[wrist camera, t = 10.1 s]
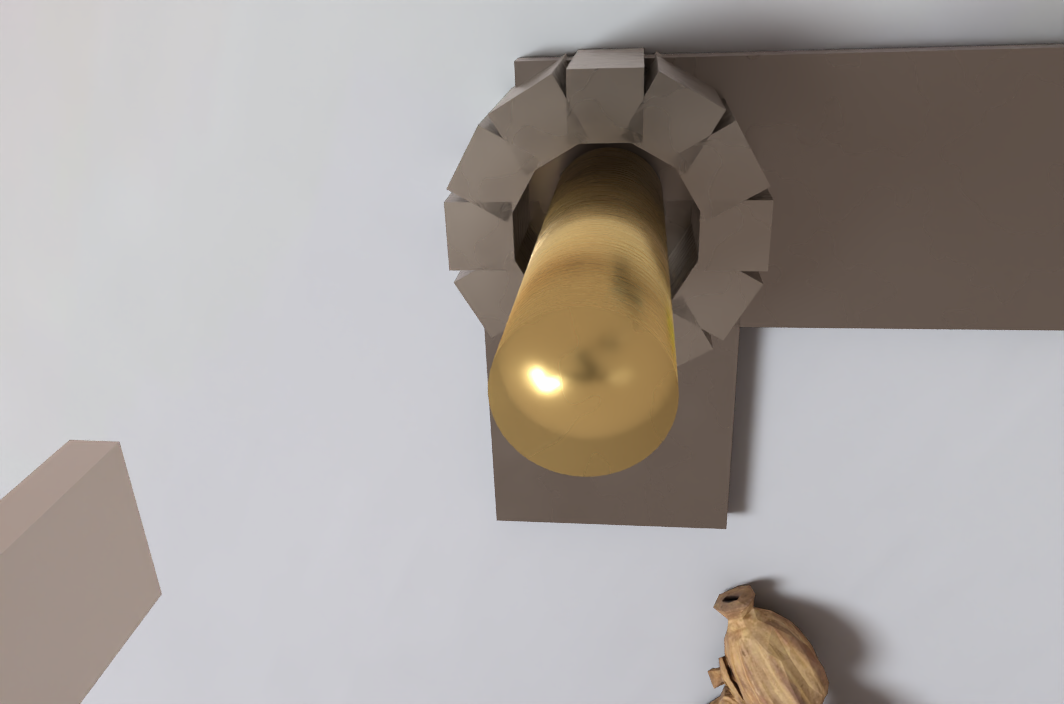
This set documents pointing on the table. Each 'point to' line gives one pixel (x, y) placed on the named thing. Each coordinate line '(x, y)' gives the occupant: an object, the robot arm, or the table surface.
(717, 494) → the hinge
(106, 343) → the table surface
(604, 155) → the pin
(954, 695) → the table surface
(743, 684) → the sword hilt
